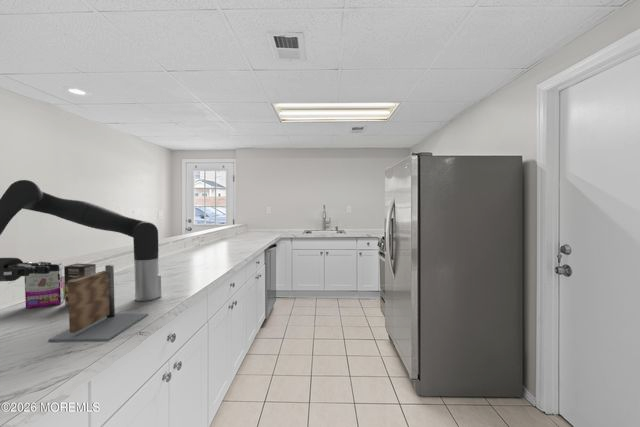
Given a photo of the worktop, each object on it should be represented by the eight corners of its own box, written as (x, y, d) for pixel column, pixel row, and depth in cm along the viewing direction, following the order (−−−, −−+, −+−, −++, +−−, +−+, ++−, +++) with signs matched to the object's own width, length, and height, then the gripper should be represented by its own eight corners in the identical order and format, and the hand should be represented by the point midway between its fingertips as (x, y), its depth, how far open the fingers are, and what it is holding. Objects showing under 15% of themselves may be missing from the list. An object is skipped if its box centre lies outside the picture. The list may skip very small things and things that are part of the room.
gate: (104, 314, 112) (103, 270, 112) (110, 314, 112) (109, 270, 112) (68, 333, 96) (66, 282, 95) (75, 332, 96) (73, 282, 95)
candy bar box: (64, 301, 135) (62, 262, 134) (60, 304, 130) (59, 264, 130) (29, 305, 130) (28, 265, 129) (25, 309, 125) (23, 267, 125)
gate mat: (99, 315, 117) (99, 314, 117) (148, 315, 117) (148, 313, 117) (48, 341, 95) (48, 339, 95) (109, 340, 95) (109, 338, 95)
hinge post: (109, 317, 115) (108, 264, 114) (116, 317, 115) (114, 264, 114) (105, 319, 113) (103, 266, 112) (112, 319, 113) (110, 266, 112)
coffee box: (63, 305, 129) (62, 266, 128) (77, 300, 135) (76, 263, 135) (84, 306, 128) (83, 266, 128) (97, 301, 134) (96, 263, 134)
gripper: (-24, 261, 95) (34, 261, 96) (20, 254, 110) (70, 253, 110) (-23, 286, 96) (34, 286, 96) (20, 276, 110) (71, 275, 110)
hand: (53, 268), depth 103 cm, fingers open, 3 cm apart
